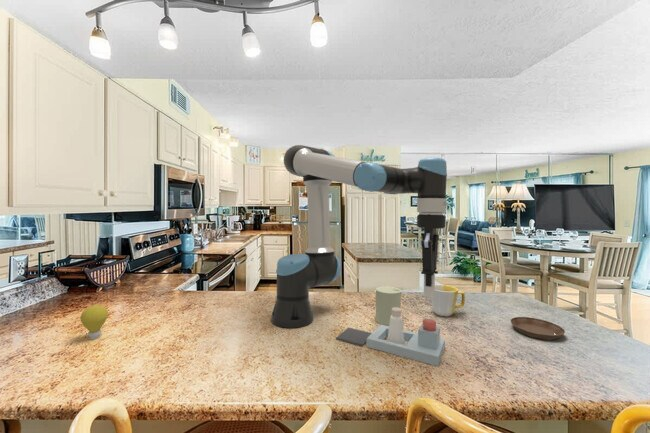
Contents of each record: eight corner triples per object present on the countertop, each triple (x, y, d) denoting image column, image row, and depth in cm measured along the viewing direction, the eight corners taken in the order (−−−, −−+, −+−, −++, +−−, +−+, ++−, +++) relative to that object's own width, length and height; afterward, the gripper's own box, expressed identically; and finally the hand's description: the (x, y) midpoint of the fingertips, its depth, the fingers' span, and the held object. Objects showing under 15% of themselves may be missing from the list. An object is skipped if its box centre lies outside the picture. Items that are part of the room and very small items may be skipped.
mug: (433, 318, 108) (434, 290, 108) (426, 309, 118) (426, 283, 118) (471, 319, 107) (472, 292, 107) (460, 310, 117) (461, 284, 117)
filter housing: (366, 346, 85) (367, 323, 85) (380, 332, 96) (380, 311, 95) (438, 366, 75) (438, 339, 75) (444, 347, 85) (445, 324, 85)
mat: (336, 339, 90) (336, 337, 90) (348, 329, 98) (348, 327, 98) (362, 346, 85) (362, 344, 85) (373, 335, 93) (373, 333, 93)
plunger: (421, 329, 81) (421, 322, 81) (423, 325, 84) (424, 318, 84) (434, 332, 79) (434, 325, 79) (436, 327, 82) (437, 320, 82)
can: (401, 326, 100) (402, 292, 100) (374, 324, 102) (375, 290, 102) (400, 317, 109) (400, 285, 109) (375, 315, 111) (375, 284, 111)
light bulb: (113, 335, 91) (113, 303, 91) (90, 344, 85) (89, 310, 84) (98, 331, 93) (98, 301, 93) (75, 340, 87) (74, 307, 86)
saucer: (563, 347, 87) (563, 339, 86) (506, 333, 97) (506, 325, 96) (566, 332, 97) (566, 324, 97) (514, 320, 107) (514, 313, 107)
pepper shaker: (408, 344, 87) (409, 308, 87) (399, 350, 83) (400, 313, 83) (392, 338, 91) (393, 304, 90) (383, 344, 87) (383, 308, 86)
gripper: (441, 214, 74) (439, 305, 74) (448, 214, 85) (446, 293, 85) (412, 213, 77) (409, 300, 78) (422, 213, 89) (420, 289, 89)
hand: (428, 296), depth 82 cm, fingers closed
